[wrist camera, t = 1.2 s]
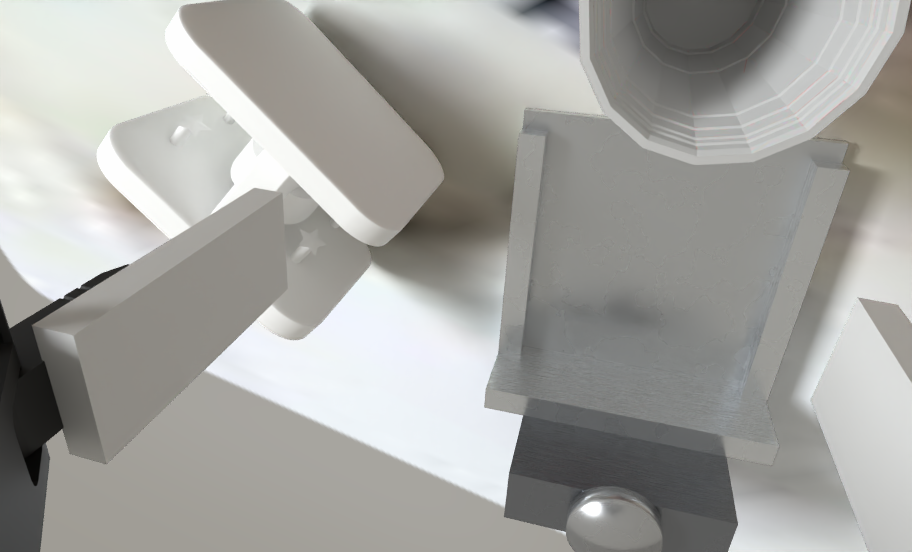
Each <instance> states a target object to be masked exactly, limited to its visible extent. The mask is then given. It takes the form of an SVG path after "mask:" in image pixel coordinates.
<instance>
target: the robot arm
mask: <svg viewBox="0 0 912 552" xmlns="http://www.w3.org/2000/svg"><path fill="white" fill-rule="evenodd" d="M287 289H288V282H287V264H286V247H285V229H284V211H283V193H281V192H276V191H270V190H265V189H259V188H253V189H251V190H250V191H248V192H247V193H245V194H243V195H242V196H240V197H238V198H237V199H235V200H234V201H232V202H230V203H229V204H227V205H226V206H224V207H222V208H221V209H219V210H217V211H216V212H214V213H213V214H211V215H209V216H208V217H206V218H205V219H203V220H201V221H200V222H198V223H196V224H195V225H193V226H192V227H190V228H188V229H187V230H185V231H184V232H182V233H180V234H179V235H177V236H175V237H174V238H172V239H171V240H169V241H167V242H166V243H164V244H163V245H161V246H159V247H158V248H156V249H154V250H153V251H151V252H150V253H148V254H146V255H145V256H143V257H142V258H140V259H138V260H137V261H135V262H133V263H132V264H130V265H129V264H127V265H124V266H122V267H119V268H116V269H113V270H110V271H107V272H104V273H101V274H100V275H98V276H96V277H95V278H93V279H91V280H90V281H88V282H86V283H85V284H83V285H81V288H80V289H79V288H76V289H75V290H73V291H71V292H70V293H68V294H66V295H65V296H64V299H61V298H60V299H58V300H56V301H55V302H53V303H51V304H50V305H48V306H46V307H45V308H43V309H42V310H40V311H38V312H36V313H35V314H33V315H32V316H30V317H28V318H26V319H25V320H23V321H22V322H20V323H18V324H17V325H15V326H13V327H12V328H10V329H9V326H8V323H7V320H6V316H5V313H4V310H3V307H2V304H1V301H0V552H40V547H41V538H42V528H43V518H44V509H45V499H46V490H47V480H48V471H49V460H50V457H49V453H48V449H47V446H46V442H47V441H48V440H49V439H50V438H52V437H53V436H54V435H55V434H57V433H58V432H59V431H60V430H61V429H63V433H64V435H65V439H66V443H67V446H68V449H69V453H70V454H72V455H75V456H79V457H82V458H86V459H89V460H93V461H96V462H100V463H103V464H108V463H109V462H110V461H111V460H112V459H113V458H114V457H115V456H116V455H117V454H118V453H119V452H120V451H121V450H122V449H123V448H124V447H125V446H126V445H127V444H128V443H129V442H130V441H131V440H132V439H133V438H135V437H136V435H138V434H139V433H140V432H141V430H143V429H144V428H145V427H146V426H147V425H148V424H149V423H150V422H151V421H152V420H153V419H154V418H155V417H156V416H157V415H158V414H159V413H160V412H161V411H162V410H163V409H164V408H165V407H166V406H167V405H169V404H170V403H171V402H172V401H173V400H174V399H175V398H176V397H177V396H178V395H179V394H180V393H181V392H182V391H183V390H184V389H185V388H186V387H187V386H188V385H189V384H190V383H191V382H192V381H193V380H194V379H195V378H196V377H198V375H200V374H201V373H202V372H203V371H204V370H205V369H206V368H207V367H208V366H209V365H210V364H211V363H212V362H213V361H214V360H215V359H216V358H217V357H218V356H219V355H220V354H221V353H222V352H223V351H224V350H225V349H226V348H227V347H229V346H230V345H231V344H232V343H233V342H234V341H235V340H236V339H237V338H238V337H239V336H240V335H241V334H242V333H243V332H244V331H245V330H246V329H247V328H248V327H249V326H250V325H251V324H252V323H253V322H254V321H255V320H256V319H257V318H258V317H260V316H261V315H262V314H263V313H264V312H265V311H266V310H267V309H268V308H269V307H270V306H271V305H272V304H273V303H274V302H275V301H276V300H277V299H278V298H279V297H280V296H281V295H282V294H283V293H284V292H285V291H286V290H287ZM811 403H812V406H813V408H814V411H815V413H816V416H817V419H818V421H819V424H820V426H821V429H822V432H823V434H824V437H825V439H826V442H827V445H828V447H829V450H830V452H831V455H832V458H833V460H834V463H835V466H836V468H837V471H838V473H839V476H840V479H841V481H842V484H843V486H844V489H845V492H846V494H847V497H848V499H849V502H850V505H851V507H852V510H853V512H854V515H855V518H856V520H857V523H858V525H859V528H860V531H861V533H862V536H863V538H864V541H865V544H866V546H867V549H868V551H869V552H912V324H911V322H910V321H909V320H908V318H907V317H906V316H905V314H904V313H903V311H902V310H901V309H900V307H899V306H898V305H896V304H890V303H885V302H879V301H874V300H868V299H863V298H857V300H856V302H855V304H854V306H853V308H852V311H851V313H850V315H849V317H848V319H847V322H846V324H845V326H844V328H843V330H842V332H841V335H840V337H839V339H838V341H837V343H836V346H835V348H834V350H833V352H832V354H831V356H830V359H829V361H828V363H827V365H826V367H825V369H824V372H823V374H822V376H821V378H820V380H819V383H818V385H817V387H816V389H815V391H814V393H813V396H812V398H811Z"/></svg>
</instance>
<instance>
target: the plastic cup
mask: <svg viewBox="0 0 912 552" xmlns="http://www.w3.org/2000/svg"><path fill="white" fill-rule="evenodd" d="M910 3H911V0H579V26H580V62H581V64H582V66H583V69H584V71H585V73H586V75H587V78H588V80H589V82H590V84H591V87H592V89H593V91H594V93H595V96H596V98H597V100H598V102H599V105H600V107H601V109H602V111H603V113H604V114H605V115H606V116H608V117H609V118H610V119H611V120H612V121H613V122H614V123H615V124H616V125H618V126H619V127H620V128H621V129H622V130H623V131H624V132H625V133H627V134H628V135H629V136H630V137H631V138H632V139H633V140H634V141H635V142H637V143H638V144H639V145H640V146H641V147H642V148H644V149H647V150H650V151H653V152H656V153H659V154H662V155H665V156H668V157H671V158H674V159H677V160H680V161H683V162H686V163H689V164H692V165H706V164H726V163H746V162H755V161H757V160H760V159H762V158H765V157H767V156H770V155H772V154H775V153H777V152H780V151H782V150H784V149H787V148H789V147H792V146H794V145H797V144H799V143H802V142H804V141H807V140H809V139H812V138H813V137H815V136H816V135H817V134H818V133H819V132H821V131H822V130H823V129H824V128H825V127H827V126H828V125H829V124H830V123H831V122H833V121H834V120H835V119H836V118H838V117H839V116H840V115H841V114H842V113H844V112H845V111H846V110H847V109H848V108H850V107H851V106H852V105H853V104H854V103H856V102H857V101H858V100H859V99H860V98H862V97H863V96H864V95H865V94H866V93H867V91H868V90H869V88H870V86H871V85H872V83H873V82H874V80H875V79H876V77H877V75H878V74H879V72H880V71H881V69H882V67H883V66H884V64H885V63H886V61H887V60H888V58H889V56H890V55H891V53H892V52H893V50H894V48H895V47H896V45H897V44H898V42H899V40H900V39H901V37H902V36H903V34H904V31H905V26H906V22H907V17H908V12H909V8H910Z"/></svg>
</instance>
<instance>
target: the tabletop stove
mask: <svg viewBox="0 0 912 552" xmlns="http://www.w3.org/2000/svg"><path fill="white" fill-rule="evenodd" d="M848 145H849V144H848V143H847V142H846V141H840V140H830V139H821V138H812V139H809V140H807V141H804V142H802V143H799V144H797V145H794V146H792V147H789V148H787V149H784V150H782V151H780V152H777V153H775V154H772V155H770V156H767V157H765V158H762V159H760V160H757V161H755V162H746V163H726V164H706V165H692V164H689V163H686V162H683V161H680V160H677V159H674V158H671V157H668V156H665V155H662V154H659V153H656V152H653V151H650V150H647V149H644V148H642V147H641V146H640V145H639V144H638V143H637V142H635V141H634V140H633V139H632V138H631V137H630V136H629V135H628V134H627V133H625V132H624V131H623V130H622V129H621V128H620V127H619V126H618V125H616V124H615V123H614V122H613V121H612V120H611V119H610V118H609V117H608V116H600V115H590V114H580V113H571V112H561V111H552V110H542V109H532V108H526V109H525V111H524V121H523V128H522V130H521V131H520V133H519V138H518V149H517V159H516V170H515V181H514V191H513V202H512V213H511V223H510V234H509V245H508V255H507V266H506V276H505V287H504V298H503V308H502V319H501V330H500V340H499V351H498V355H497V358H496V361H495V364H494V367H493V370H492V372H491V375H490V378H489V381H488V384H487V387H486V394H485V405H484V407H485V408H490V409H495V410H500V411H505V412H509V413H514V414H519V415H523V419H522V423H521V427H520V431H519V435H518V439H517V443H516V448H515V452H514V456H513V460H512V464H511V468H510V472H509V479H508V488H507V496H506V505H505V513H504V517H506V518H510V519H515V520H519V521H523V522H527V523H531V524H536V525H540V526H544V527H548V528H552V529H556V530H561V531H565V532H566V536H567V540H568V542H569V544H570V546H571V547H572V549H573V550H574V551H575V552H728V549H729V547H730V544H731V541H732V539H733V536H734V533H735V531H736V528H737V525H738V522H737V516H736V511H735V505H734V499H733V493H732V488H731V482H730V476H729V471H728V465H727V459H726V457H730V458H734V459H739V460H744V461H749V462H754V463H759V464H764V465H769V466H772V464H773V462H774V459H775V456H776V454H777V451H778V449H779V444H778V440H777V437H776V433H775V430H774V426H773V423H772V419H771V416H770V412H769V409H768V405H767V400H768V398H769V395H770V392H771V389H772V386H773V384H774V381H775V378H776V375H777V373H778V370H779V367H780V364H781V361H782V359H783V356H784V353H785V350H786V347H787V345H788V342H789V339H790V336H791V334H792V331H793V328H794V325H795V322H796V320H797V317H798V314H799V311H800V309H801V306H802V303H803V300H804V297H805V295H806V292H807V289H808V286H809V283H810V281H811V278H812V275H813V272H814V270H815V267H816V264H817V261H818V258H819V256H820V253H821V250H822V247H823V244H824V242H825V239H826V236H827V233H828V231H829V228H830V225H831V222H832V219H833V217H834V214H835V211H836V208H837V206H838V203H839V200H840V197H841V194H842V192H843V189H844V186H845V183H846V180H847V178H848V175H849V172H850V170H849V169H848V168H847V167H846V166H845V165H844V164H843V163H842V162H843V159H844V156H845V153H846V150H847V148H848Z"/></svg>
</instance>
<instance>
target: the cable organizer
mask: <svg viewBox="0 0 912 552" xmlns="http://www.w3.org/2000/svg"><path fill="white" fill-rule="evenodd" d="M165 39H166V43H167V45H168V48H169V49H170V51H171V53H172V54H173V56H174V57H175V59H176V60H177V61H178V63H179V64H180V65H181V66H182V67H183V68H184V69H185V70H186V71H187V72H188V73H189V74H190V75H191V76H192V77H193V78H194V79H195V80H196V81H197V82H198V83H199V84H200V86H201V87H202V88H203V89H204V90H205V91H206V92H207V93H206V94H207V95H209V96H201V97H198V98H195V99H192V100H189V101H186V102H183V103H180V104H177V105H174V106H171V107H168V108H164V109H161V110H158V111H155V112H152V113H149V114H146V115H143V116H140V117H137V118H134V119H131V120H128V121H125V122H122V123H119V124H116V125H114V126H113V127H112V128H111V129H110V130H109V132H108V133H107V135H106V137H105V138H104V140H103V141H102V143H101V145H100V146H99V148H98V150H97V161H98V164H99V166H100V168H101V170H102V172H103V174H104V175H105V176H106V178H107V179H108V180H109V181H110V183H111V184H112V185H113V186H114V187H115V188H116V189H117V190H118V191H119V192H120V193H121V194H123V195H124V196H125V197H126V198H127V199H128V200H129V201H130V202H131V203H132V204H133V205H134V206H135V207H136V208H137V209H138V210H140V211H141V212H142V213H143V214H144V215H145V216H146V217H147V218H148V219H149V220H150V221H151V222H152V223H153V224H154V225H155V226H157V229H158V230H159V229H160V230H161V231H162V232H163V233H164V234H165V235H166V236H167V237H168V238H169V239H170V240H171V239H172V238H174V237H175V236H177V235H179V234H180V233H182V232H184V231H185V230H187V229H188V228H190V227H192V226H193V225H195V224H196V223H198V222H200V221H201V220H203V219H205V218H206V217H208V216H209V215H211V214H213V213H214V212H216V211H217V210H219V209H221V208H222V207H224V206H226V205H227V204H229V203H230V202H232V201H234V200H235V199H237V198H238V197H240V196H242V195H243V194H245V193H247V192H248V191H250V190H251V189H253V188H259V189H265V190H270V191H276V192H281V193H283V211H284V229H285V247H286V264H287V282H288V289H287V290H286V291H285V292H284V293H283V294H282V295H281V296H280V297H279V298H278V299H277V300H276V301H275V302H274V303H273V304H272V305H271V306H270V307H269V308H268V309H267V310H266V311H265V312H264V313H263V314H262V315H261V316H260V317H258V318H257V319H256V321H257V322H258V323H260V324H261V325H262V326H263V327H264V328H266V329H267V330H269V331H270V332H272V333H273V334H275V335H277V336H279V337H282V338H285V339H289V340H300V339H303V338H305V337H306V336H307V335H308V334H309V333H310V332H311V331H313V330H314V329H315V328H316V327H317V326H318V325H319V324H321V323H322V322H323V320H324V319H325V318H326V317H327V316H328V315H329V313H330V312H331V311H332V310H333V309H334V308H335V306H336V305H337V304H338V303H339V302H340V300H341V299H342V298H343V297H344V296H345V295H346V293H347V292H348V291H349V290H350V289H351V288H352V286H353V285H354V284H355V283H356V282H357V281H358V279H359V278H360V277H361V276H362V275H363V273H364V272H365V271H366V270H367V269H368V268H369V266H370V265H371V262H372V257H371V253H370V250H369V248H368V246H367V244H368V245H371V246H376V247H377V246H383V245H385V244H386V243H388V242H389V241H390V240H391V239H392V238H393V237H394V236H395V235H396V234H398V233H399V232H400V231H401V230H402V229H403V228H404V227H405V225H406V224H407V223H408V222H409V221H410V220H411V218H412V217H413V216H414V215H415V214H416V213H417V211H418V210H419V209H420V208H421V207H422V205H423V204H424V203H425V202H426V201H427V200H428V198H429V197H430V196H431V195H432V194H433V192H434V191H435V190H436V189H437V188H438V187H439V185H440V184H441V183H442V182H443V180H444V172H443V169H442V167H441V164H440V163H439V161H438V159H437V158H436V156H435V155H434V153H433V152H432V151H431V149H430V148H429V147H428V146H427V145H426V144H425V142H424V141H423V140H422V139H421V138H420V137H419V136H418V135H417V134H416V133H415V132H414V131H413V130H412V128H411V127H410V126H409V125H408V124H407V123H406V122H405V121H404V120H403V119H402V118H401V117H400V116H399V115H398V113H397V112H396V111H395V110H394V109H393V108H392V107H391V106H390V105H389V104H388V103H387V102H386V101H385V99H384V98H383V97H382V96H381V95H380V94H379V93H378V92H377V91H376V90H375V89H374V88H373V87H372V86H371V84H370V83H369V82H368V81H367V80H366V79H365V78H364V77H363V76H362V75H361V74H360V73H359V72H358V71H357V69H356V68H355V67H354V66H353V65H352V64H351V63H350V62H349V61H348V60H347V59H346V58H345V57H344V55H343V54H342V53H341V52H340V51H339V50H338V49H337V48H336V47H335V46H334V45H333V44H332V43H331V42H330V40H329V39H328V38H327V37H326V36H325V35H324V34H323V33H322V32H321V31H320V30H319V29H318V28H317V26H316V25H315V24H314V23H313V22H312V21H311V20H310V19H309V18H308V17H307V16H306V15H305V14H303V13H302V12H301V11H300V10H299V9H297V8H296V7H295V6H293V5H292V4H290V3H289V2H287V1H286V0H222V1H213V2H205V3H196V4H188V5H183V6H181V7H180V8H179V10H178V11H177V13H176V14H175V16H174V18H173V19H172V21H171V22H170V24H169V26H168V27H167V29H166V31H165Z"/></svg>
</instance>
